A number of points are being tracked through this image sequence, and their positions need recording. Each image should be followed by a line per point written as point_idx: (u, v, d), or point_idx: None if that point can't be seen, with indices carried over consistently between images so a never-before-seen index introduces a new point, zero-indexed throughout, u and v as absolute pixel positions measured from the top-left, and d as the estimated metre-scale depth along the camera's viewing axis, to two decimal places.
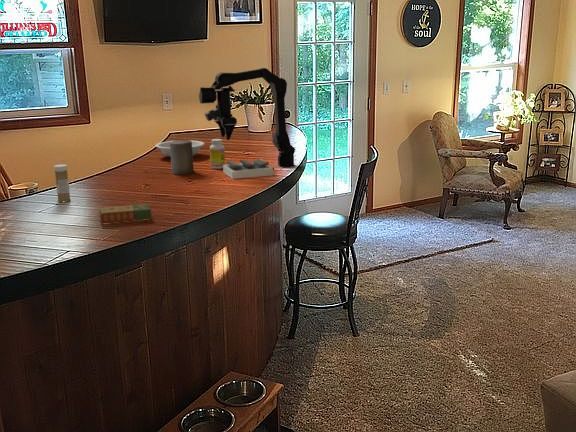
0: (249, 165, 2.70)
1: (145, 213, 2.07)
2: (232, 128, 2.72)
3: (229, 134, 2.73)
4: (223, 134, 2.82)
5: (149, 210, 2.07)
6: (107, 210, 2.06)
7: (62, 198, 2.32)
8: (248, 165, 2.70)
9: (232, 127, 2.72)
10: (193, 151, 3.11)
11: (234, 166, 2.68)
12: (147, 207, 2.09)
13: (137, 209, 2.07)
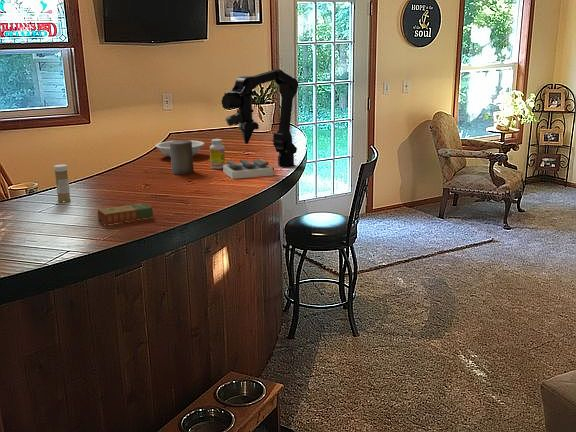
0: (249, 165, 2.70)
1: (147, 212, 2.09)
2: (251, 132, 2.70)
3: (248, 138, 2.72)
4: None
5: (151, 208, 2.09)
6: (109, 211, 2.05)
7: (62, 198, 2.32)
8: (248, 165, 2.70)
9: (251, 131, 2.70)
10: (193, 151, 3.11)
11: (234, 166, 2.68)
12: (147, 206, 2.11)
13: (139, 208, 2.08)
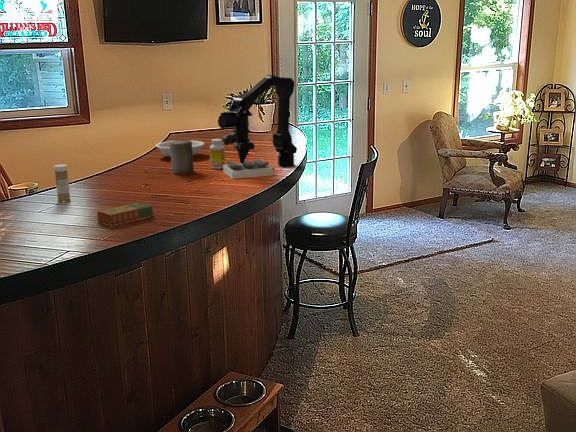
0: (249, 165, 2.70)
1: (148, 210, 2.10)
2: (246, 152, 2.72)
3: (243, 157, 2.73)
4: None
5: (151, 207, 2.11)
6: (111, 212, 2.04)
7: (62, 198, 2.32)
8: (248, 165, 2.70)
9: (246, 151, 2.72)
10: (193, 151, 3.11)
11: (234, 166, 2.68)
12: (145, 205, 2.12)
13: (140, 207, 2.09)
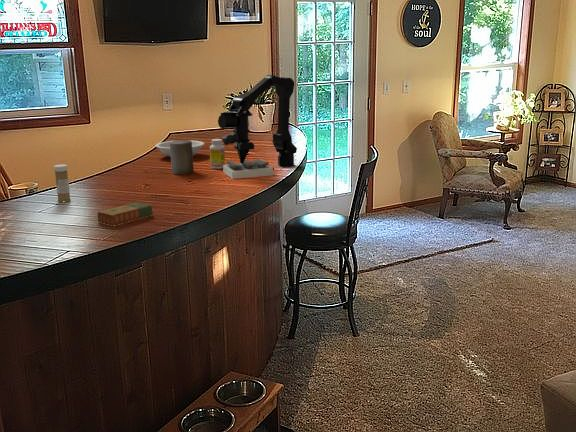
0: (249, 165, 2.70)
1: (148, 210, 2.11)
2: (246, 152, 2.72)
3: (243, 157, 2.73)
4: None
5: (150, 206, 2.12)
6: (113, 212, 2.04)
7: (62, 198, 2.32)
8: (248, 165, 2.70)
9: (246, 151, 2.72)
10: (193, 151, 3.11)
11: (234, 166, 2.68)
12: (144, 204, 2.13)
13: (140, 207, 2.09)
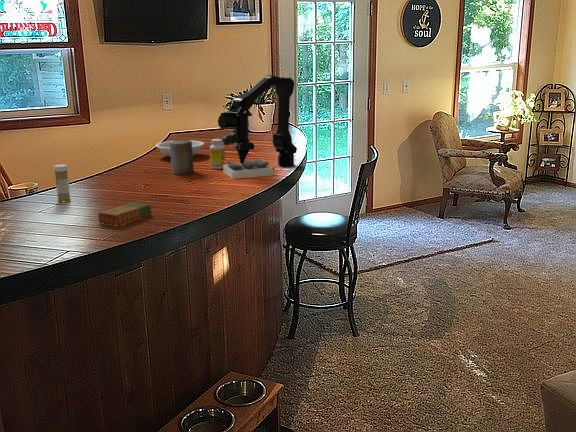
0: (249, 165, 2.70)
1: (147, 209, 2.12)
2: (246, 152, 2.72)
3: (243, 158, 2.73)
4: None
5: (149, 205, 2.13)
6: (115, 212, 2.03)
7: (62, 198, 2.32)
8: (248, 166, 2.70)
9: (246, 151, 2.72)
10: (193, 151, 3.11)
11: (234, 166, 2.68)
12: (143, 204, 2.14)
13: (140, 207, 2.10)
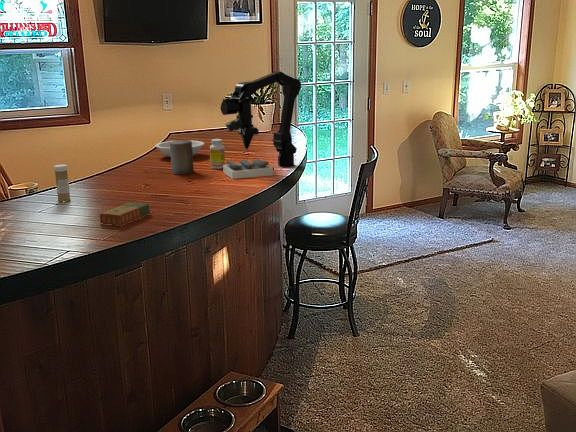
0: (249, 165, 2.70)
1: (146, 208, 2.13)
2: (251, 137, 2.74)
3: (248, 143, 2.75)
4: None
5: (148, 205, 2.14)
6: (117, 212, 2.03)
7: (62, 198, 2.32)
8: (248, 166, 2.70)
9: (251, 136, 2.74)
10: (193, 151, 3.11)
11: (234, 166, 2.68)
12: (141, 203, 2.14)
13: (139, 206, 2.11)
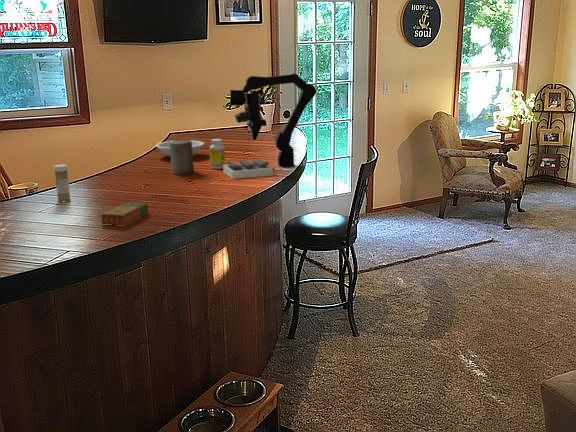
0: (249, 165, 2.70)
1: (145, 208, 2.13)
2: (259, 129, 2.84)
3: (256, 134, 2.85)
4: None
5: (146, 204, 2.14)
6: (119, 212, 2.03)
7: (62, 198, 2.32)
8: (248, 166, 2.70)
9: (259, 128, 2.84)
10: (193, 151, 3.11)
11: (234, 166, 2.68)
12: (139, 203, 2.15)
13: (139, 206, 2.11)
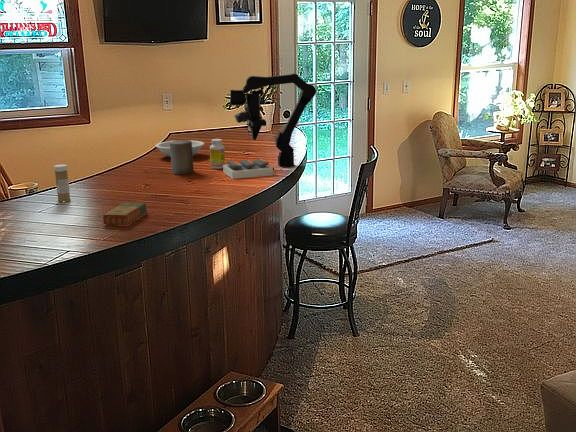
0: (249, 166, 2.70)
1: (144, 208, 2.14)
2: (259, 129, 2.84)
3: (256, 134, 2.85)
4: None
5: (145, 204, 2.15)
6: (121, 212, 2.03)
7: (62, 198, 2.32)
8: (248, 166, 2.70)
9: (259, 128, 2.84)
10: (193, 151, 3.11)
11: (234, 166, 2.68)
12: (138, 203, 2.15)
13: (138, 205, 2.11)
